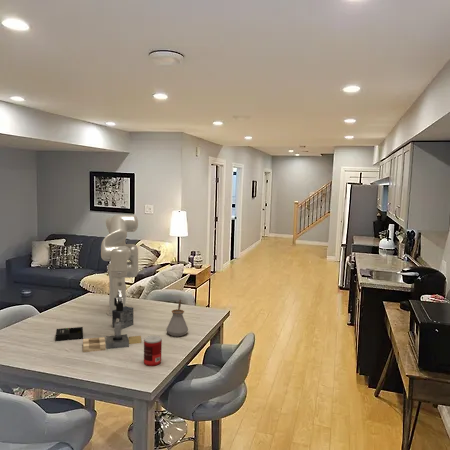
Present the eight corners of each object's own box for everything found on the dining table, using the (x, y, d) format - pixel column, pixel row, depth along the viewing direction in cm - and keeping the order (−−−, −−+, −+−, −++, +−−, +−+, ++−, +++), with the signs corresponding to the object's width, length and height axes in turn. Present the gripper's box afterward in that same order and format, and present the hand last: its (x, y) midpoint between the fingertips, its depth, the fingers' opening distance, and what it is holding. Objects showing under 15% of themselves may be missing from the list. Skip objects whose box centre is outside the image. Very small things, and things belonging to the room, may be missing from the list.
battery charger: (55, 343, 203) (55, 335, 203) (56, 336, 212) (56, 328, 212) (83, 340, 207) (83, 332, 207) (82, 334, 216) (82, 326, 216)
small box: (125, 323, 234) (125, 305, 233) (134, 325, 231) (134, 307, 230) (111, 328, 225) (111, 310, 224) (120, 331, 221) (120, 312, 221)
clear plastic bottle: (114, 343, 203) (114, 318, 202) (120, 343, 204) (120, 317, 203) (114, 346, 201) (114, 320, 199) (120, 345, 202) (121, 319, 200)
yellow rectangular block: (128, 342, 206) (128, 336, 205) (140, 341, 208) (140, 335, 207) (128, 344, 203) (128, 338, 203) (141, 343, 205) (141, 337, 205)
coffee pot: (187, 338, 213) (187, 310, 212) (164, 338, 213) (165, 310, 212) (190, 325, 235) (190, 299, 233) (170, 324, 234) (170, 298, 233)
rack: (83, 344, 201) (83, 338, 201) (104, 342, 204) (104, 337, 204) (83, 352, 192) (83, 346, 191) (105, 350, 195) (105, 344, 195)
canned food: (162, 358, 188) (162, 335, 187) (160, 366, 180) (160, 342, 179) (145, 358, 187) (145, 335, 186) (142, 366, 179) (142, 341, 178)
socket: (106, 341, 206) (106, 336, 205) (126, 340, 209) (126, 334, 209) (107, 349, 196) (107, 343, 196) (129, 347, 199) (129, 341, 199)
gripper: (128, 277, 193) (128, 313, 194) (124, 270, 209) (124, 303, 210) (112, 278, 190) (112, 314, 192) (109, 270, 206) (109, 304, 208)
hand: (118, 308), depth 201 cm, fingers open, 9 cm apart
